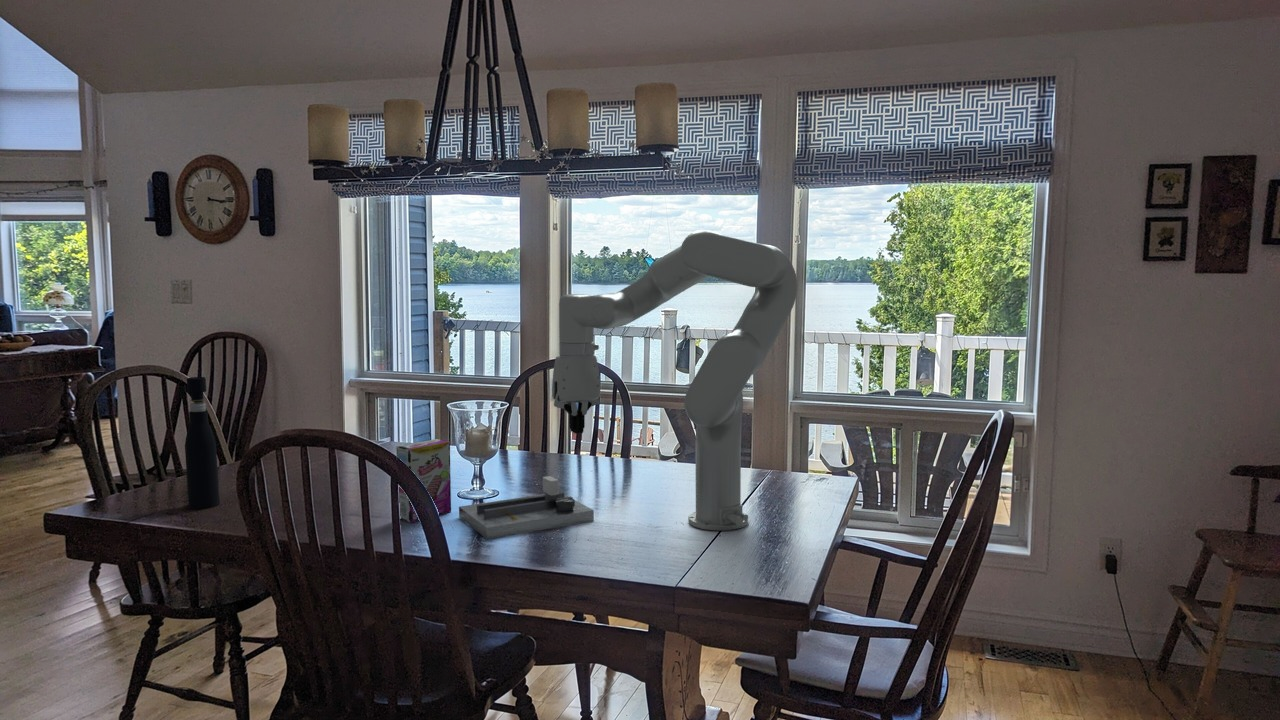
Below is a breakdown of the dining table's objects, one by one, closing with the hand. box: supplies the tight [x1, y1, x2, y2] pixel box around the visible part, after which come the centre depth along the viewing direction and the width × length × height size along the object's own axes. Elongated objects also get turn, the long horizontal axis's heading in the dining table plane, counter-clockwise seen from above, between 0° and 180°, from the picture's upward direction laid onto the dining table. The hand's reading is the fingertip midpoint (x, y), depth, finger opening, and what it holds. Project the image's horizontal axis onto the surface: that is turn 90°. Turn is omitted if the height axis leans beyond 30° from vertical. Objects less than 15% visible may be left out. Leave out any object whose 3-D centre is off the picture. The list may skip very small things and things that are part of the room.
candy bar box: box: [396, 438, 452, 524], centre depth 188 cm, size 11×5×16 cm, turn 141°
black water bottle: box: [184, 376, 220, 510], centre depth 197 cm, size 6×6×30 cm
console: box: [458, 491, 595, 540], centre depth 185 cm, size 18×24×5 cm
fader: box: [542, 475, 560, 500], centre depth 188 cm, size 4×2×6 cm, turn 30°
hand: (577, 432), depth 190 cm, fingers closed
